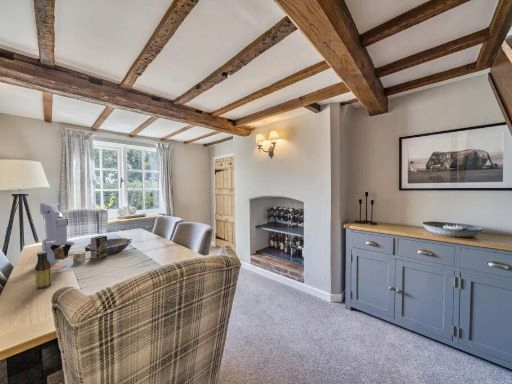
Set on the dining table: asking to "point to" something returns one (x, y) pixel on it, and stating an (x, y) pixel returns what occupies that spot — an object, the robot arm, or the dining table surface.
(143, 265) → the dining table surface
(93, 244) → the coffee box
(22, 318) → the dining table surface
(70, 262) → the board
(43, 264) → the sauce bottle
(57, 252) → the walnut block
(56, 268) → the terracotta pad
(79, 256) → the birch block
